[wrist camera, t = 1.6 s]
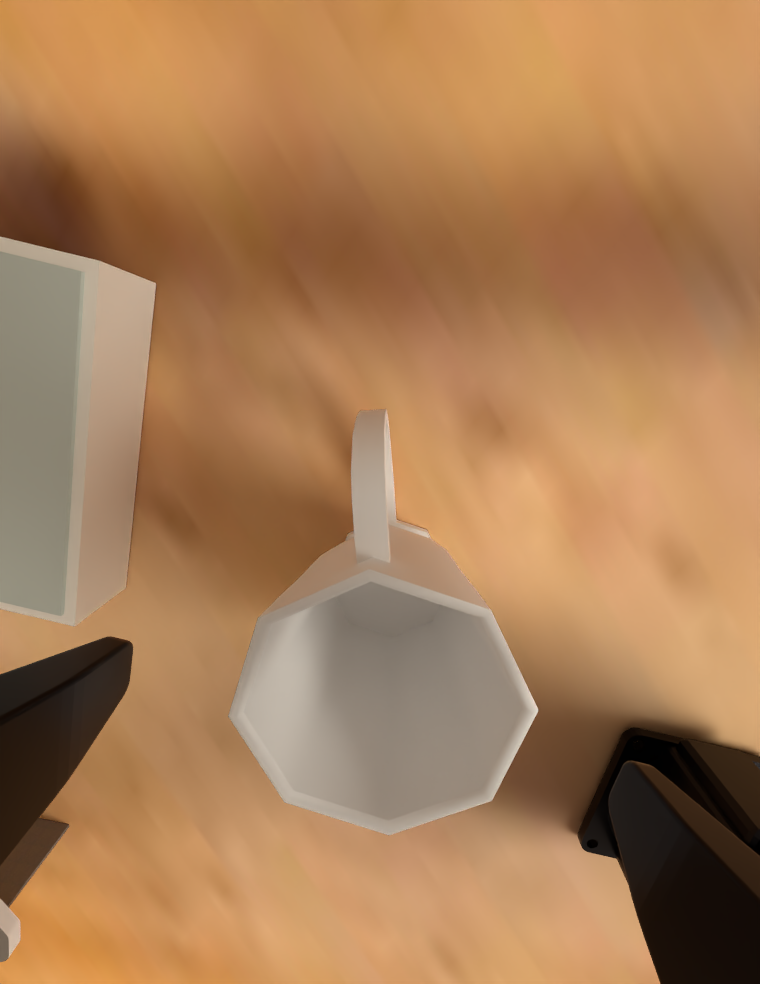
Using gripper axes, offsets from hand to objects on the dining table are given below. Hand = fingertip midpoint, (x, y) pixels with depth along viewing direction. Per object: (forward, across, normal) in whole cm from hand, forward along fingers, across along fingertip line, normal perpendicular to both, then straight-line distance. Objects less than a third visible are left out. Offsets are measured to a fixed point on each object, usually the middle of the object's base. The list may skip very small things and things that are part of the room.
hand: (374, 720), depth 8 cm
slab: (+10, +15, -1) cm, 18 cm away
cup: (+10, 0, 0) cm, 10 cm away
